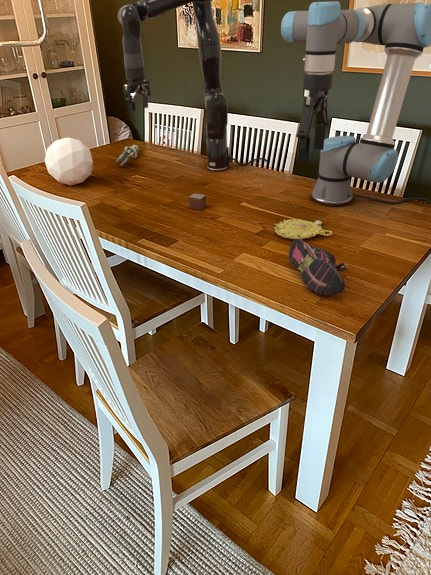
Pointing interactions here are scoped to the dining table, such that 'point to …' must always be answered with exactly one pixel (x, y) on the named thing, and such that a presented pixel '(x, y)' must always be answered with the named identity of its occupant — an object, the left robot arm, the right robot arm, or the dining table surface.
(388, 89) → the right robot arm
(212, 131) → the left robot arm
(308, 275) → the athletic shoe
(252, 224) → the dining table surface
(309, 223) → the decorative object
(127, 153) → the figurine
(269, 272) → the dining table surface
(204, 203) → the block
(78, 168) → the sphere
